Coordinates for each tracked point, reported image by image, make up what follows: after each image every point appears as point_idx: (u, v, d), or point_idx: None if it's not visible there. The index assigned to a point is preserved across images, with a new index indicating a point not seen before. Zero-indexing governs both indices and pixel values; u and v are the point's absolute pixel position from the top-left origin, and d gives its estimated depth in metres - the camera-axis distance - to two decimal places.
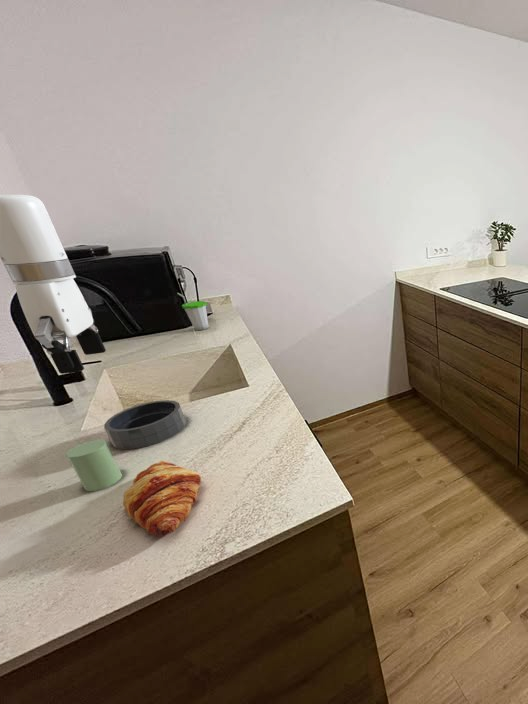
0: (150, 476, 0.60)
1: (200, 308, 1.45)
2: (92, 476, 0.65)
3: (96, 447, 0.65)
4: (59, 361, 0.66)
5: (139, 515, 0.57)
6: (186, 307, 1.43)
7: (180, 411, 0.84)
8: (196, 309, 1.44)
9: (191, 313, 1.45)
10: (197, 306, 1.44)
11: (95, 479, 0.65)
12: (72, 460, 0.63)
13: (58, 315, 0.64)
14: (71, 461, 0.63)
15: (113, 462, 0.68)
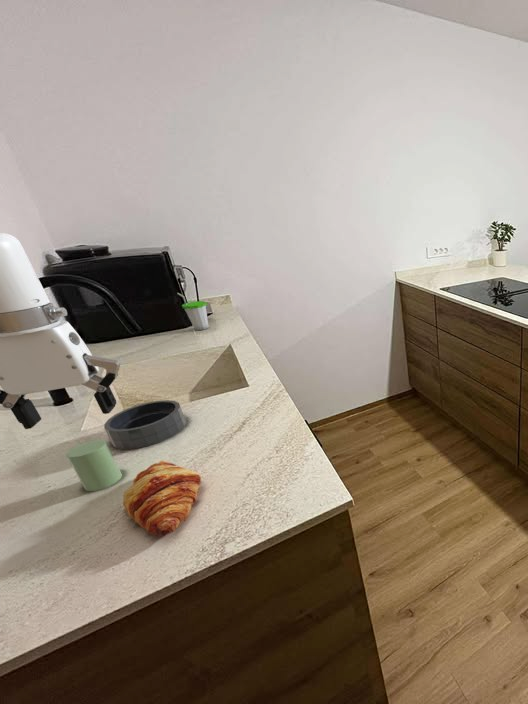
0: (150, 476, 0.60)
1: (200, 308, 1.45)
2: (92, 476, 0.65)
3: (96, 447, 0.65)
4: None
5: (139, 515, 0.57)
6: (186, 307, 1.43)
7: (180, 411, 0.84)
8: (196, 309, 1.44)
9: (191, 313, 1.45)
10: (197, 306, 1.44)
11: (95, 479, 0.65)
12: (72, 460, 0.63)
13: None
14: (71, 461, 0.63)
15: (113, 462, 0.68)
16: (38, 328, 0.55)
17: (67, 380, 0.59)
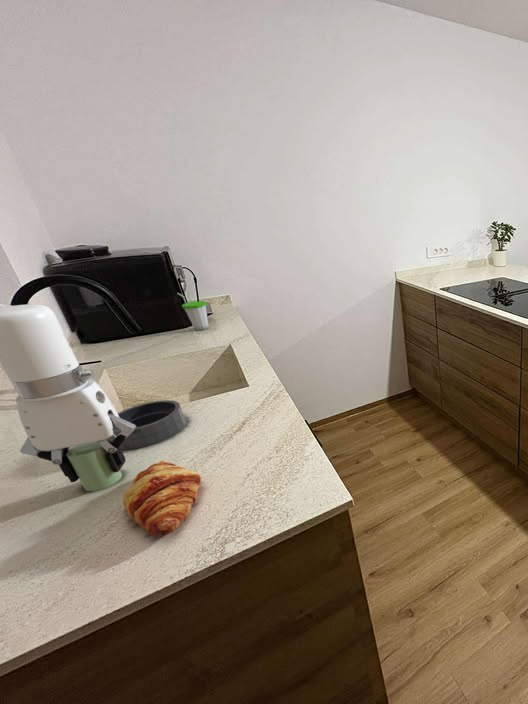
0: (150, 476, 0.60)
1: (200, 308, 1.45)
2: (92, 476, 0.65)
3: (96, 447, 0.65)
4: None
5: (139, 515, 0.57)
6: (186, 307, 1.43)
7: (180, 411, 0.84)
8: (196, 309, 1.44)
9: (191, 313, 1.45)
10: (197, 306, 1.44)
11: (95, 479, 0.65)
12: (72, 460, 0.63)
13: None
14: (71, 461, 0.63)
15: None
16: (69, 391, 0.59)
17: (93, 436, 0.63)
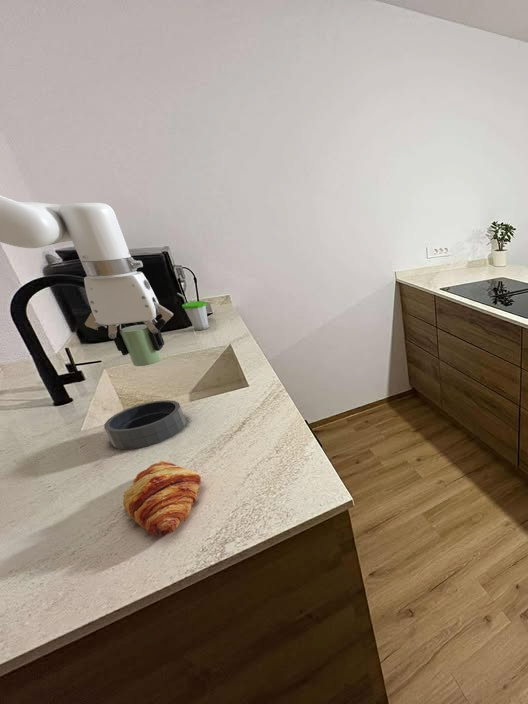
0: (150, 476, 0.60)
1: (200, 308, 1.45)
2: (139, 351, 0.81)
3: (142, 327, 0.81)
4: None
5: (139, 515, 0.57)
6: (186, 307, 1.43)
7: (180, 411, 0.84)
8: (196, 309, 1.44)
9: (191, 313, 1.45)
10: (197, 306, 1.44)
11: (141, 353, 0.81)
12: (124, 335, 0.79)
13: (90, 305, 0.76)
14: (123, 336, 0.79)
15: None
16: (124, 274, 0.75)
17: (141, 316, 0.79)
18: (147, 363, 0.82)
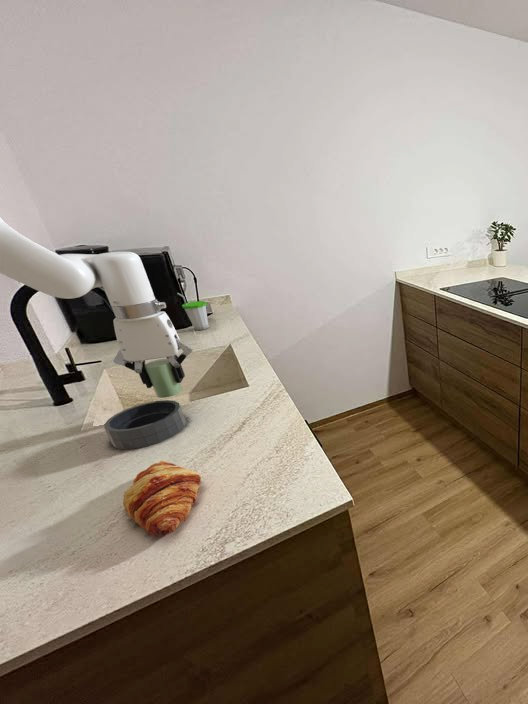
0: (150, 476, 0.60)
1: (200, 308, 1.45)
2: (162, 384, 0.88)
3: (165, 362, 0.88)
4: None
5: (139, 515, 0.57)
6: (186, 307, 1.43)
7: (180, 411, 0.84)
8: (196, 309, 1.44)
9: (191, 313, 1.45)
10: (197, 306, 1.44)
11: (164, 386, 0.88)
12: (149, 370, 0.86)
13: None
14: (148, 371, 0.86)
15: None
16: (150, 316, 0.82)
17: (164, 352, 0.86)
18: (169, 395, 0.89)
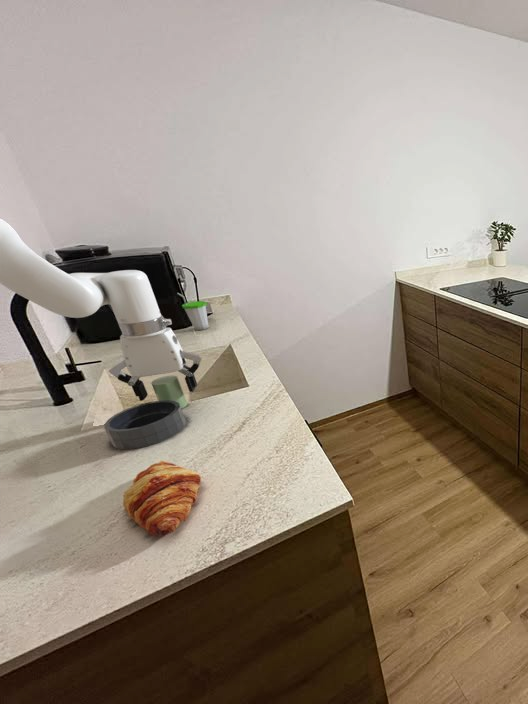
0: (150, 476, 0.60)
1: (200, 308, 1.45)
2: None
3: (171, 379, 0.90)
4: None
5: (139, 515, 0.57)
6: (186, 307, 1.43)
7: (180, 411, 0.84)
8: (196, 309, 1.44)
9: (191, 313, 1.45)
10: (197, 306, 1.44)
11: None
12: (156, 387, 0.88)
13: (124, 360, 0.84)
14: (155, 388, 0.88)
15: (182, 392, 0.92)
16: (156, 332, 0.84)
17: (169, 368, 0.87)
18: None
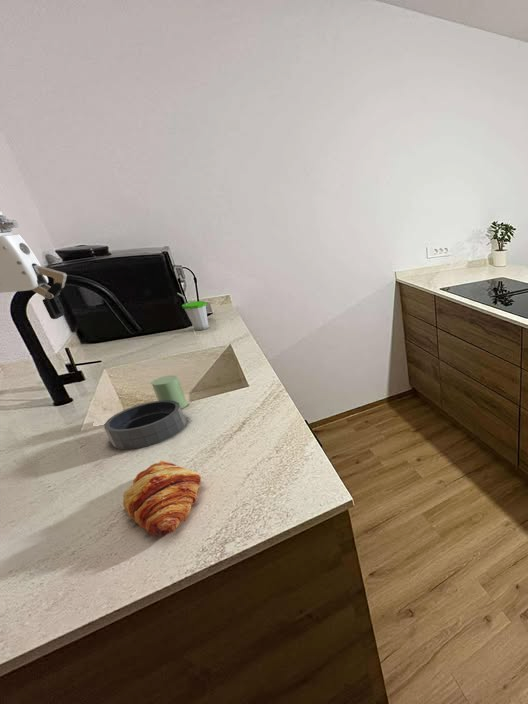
0: (150, 476, 0.60)
1: (200, 308, 1.45)
2: None
3: (171, 379, 0.90)
4: None
5: (139, 515, 0.57)
6: (186, 307, 1.43)
7: (180, 411, 0.84)
8: (196, 309, 1.44)
9: (191, 313, 1.45)
10: (197, 306, 1.44)
11: None
12: (156, 387, 0.88)
13: None
14: (155, 388, 0.88)
15: (182, 392, 0.92)
16: None
17: (18, 284, 0.69)
18: None
